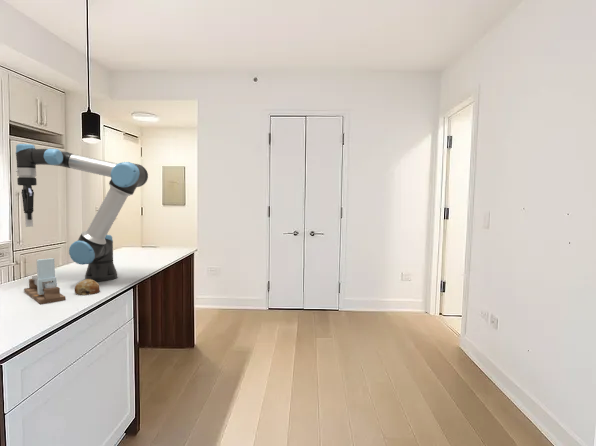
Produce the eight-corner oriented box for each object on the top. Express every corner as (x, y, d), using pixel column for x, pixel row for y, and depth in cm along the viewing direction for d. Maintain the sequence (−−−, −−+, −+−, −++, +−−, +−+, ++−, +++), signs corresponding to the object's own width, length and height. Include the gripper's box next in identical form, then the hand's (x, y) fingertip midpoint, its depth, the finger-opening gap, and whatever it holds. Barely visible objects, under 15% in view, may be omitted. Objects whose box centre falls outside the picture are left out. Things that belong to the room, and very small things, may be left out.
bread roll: (74, 303, 173) (73, 289, 170) (75, 289, 181) (74, 275, 177) (100, 300, 178) (99, 286, 174) (99, 286, 186) (98, 273, 182)
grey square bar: (32, 283, 179) (31, 275, 179) (40, 281, 181) (40, 274, 181) (47, 293, 162) (46, 285, 161) (56, 291, 164) (56, 283, 164)
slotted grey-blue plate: (37, 293, 166) (36, 259, 165) (54, 291, 171) (53, 258, 170) (39, 295, 164) (37, 260, 163) (56, 292, 169) (55, 258, 168)
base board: (24, 291, 178) (23, 279, 178) (47, 288, 185) (46, 276, 184) (40, 304, 159) (39, 291, 158) (65, 300, 165) (65, 287, 165)
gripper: (14, 177, 190) (16, 226, 192) (20, 176, 181) (23, 227, 183) (32, 177, 196) (35, 225, 197) (39, 177, 186) (41, 226, 188)
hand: (29, 226), depth 190 cm, fingers closed
